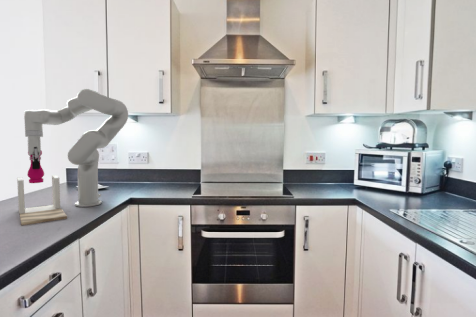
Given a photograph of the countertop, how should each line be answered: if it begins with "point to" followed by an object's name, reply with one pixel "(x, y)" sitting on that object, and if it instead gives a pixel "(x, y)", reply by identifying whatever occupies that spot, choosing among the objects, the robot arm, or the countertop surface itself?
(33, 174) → the pepper mill
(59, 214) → the oak board
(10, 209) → the countertop surface
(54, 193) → the gate
